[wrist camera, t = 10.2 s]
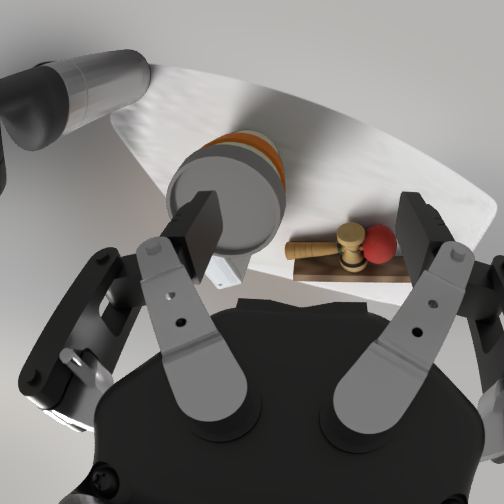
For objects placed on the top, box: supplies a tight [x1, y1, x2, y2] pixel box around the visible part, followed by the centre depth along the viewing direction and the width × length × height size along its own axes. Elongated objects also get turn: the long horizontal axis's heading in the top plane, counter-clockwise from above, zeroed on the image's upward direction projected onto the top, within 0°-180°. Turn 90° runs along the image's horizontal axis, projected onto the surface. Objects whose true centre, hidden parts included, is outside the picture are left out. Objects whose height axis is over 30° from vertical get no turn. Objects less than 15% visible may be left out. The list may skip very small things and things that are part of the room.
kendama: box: [285, 223, 397, 272], centre depth 44 cm, size 8×6×18 cm
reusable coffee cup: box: [166, 130, 286, 258], centre depth 34 cm, size 12×13×15 cm
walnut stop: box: [293, 255, 411, 283], centre depth 46 cm, size 24×1×5 cm, turn 97°
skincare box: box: [205, 255, 251, 289], centre depth 43 cm, size 6×4×12 cm
